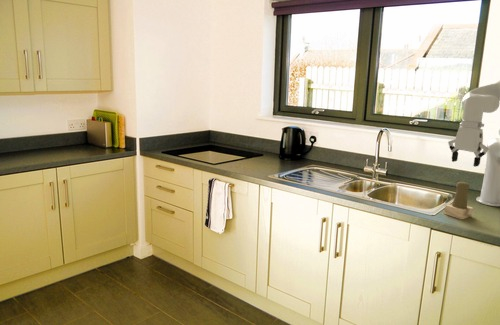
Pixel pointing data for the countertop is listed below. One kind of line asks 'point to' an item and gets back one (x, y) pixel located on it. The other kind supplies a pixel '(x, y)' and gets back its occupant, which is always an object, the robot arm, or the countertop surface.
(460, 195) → the cork
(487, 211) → the countertop surface
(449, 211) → the oak block base
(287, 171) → the countertop surface
